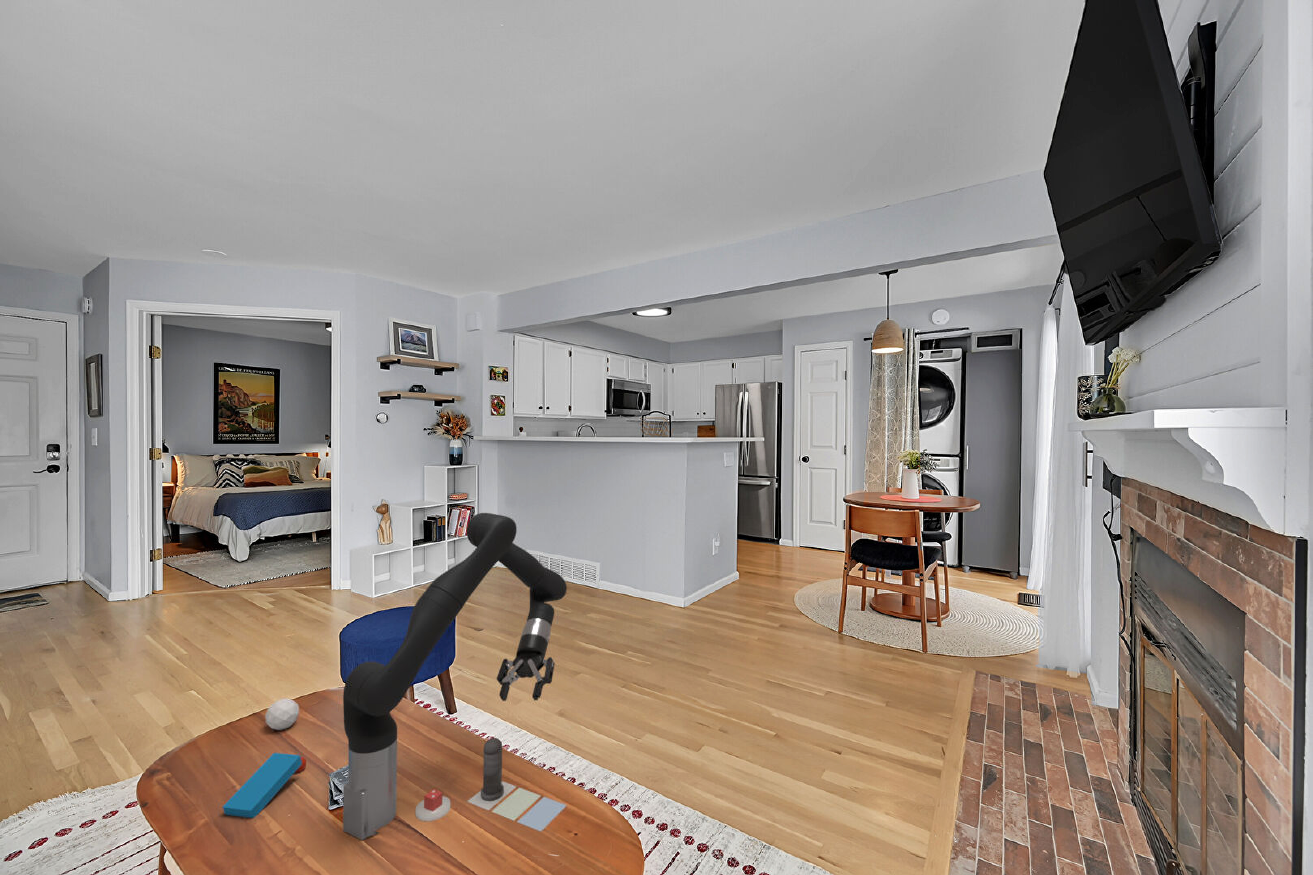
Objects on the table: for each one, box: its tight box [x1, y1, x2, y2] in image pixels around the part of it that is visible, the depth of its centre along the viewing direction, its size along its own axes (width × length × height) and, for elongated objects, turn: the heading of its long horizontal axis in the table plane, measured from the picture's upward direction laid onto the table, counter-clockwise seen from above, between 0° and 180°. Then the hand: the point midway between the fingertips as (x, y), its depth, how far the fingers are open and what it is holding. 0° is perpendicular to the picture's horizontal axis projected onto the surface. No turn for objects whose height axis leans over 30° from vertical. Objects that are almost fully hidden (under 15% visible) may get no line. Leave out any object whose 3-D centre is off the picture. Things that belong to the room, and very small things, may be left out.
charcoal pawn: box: [480, 737, 504, 801], centre depth 129 cm, size 5×5×12 cm
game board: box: [466, 781, 567, 832], centre depth 126 cm, size 11×21×1 cm, turn 64°
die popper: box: [415, 789, 451, 822], centre depth 123 cm, size 7×7×5 cm
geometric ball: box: [264, 698, 300, 731], centre depth 157 cm, size 8×8×8 cm
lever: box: [222, 752, 307, 819], centre depth 131 cm, size 7×7×18 cm
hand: (518, 699), depth 142 cm, fingers open, 8 cm apart
